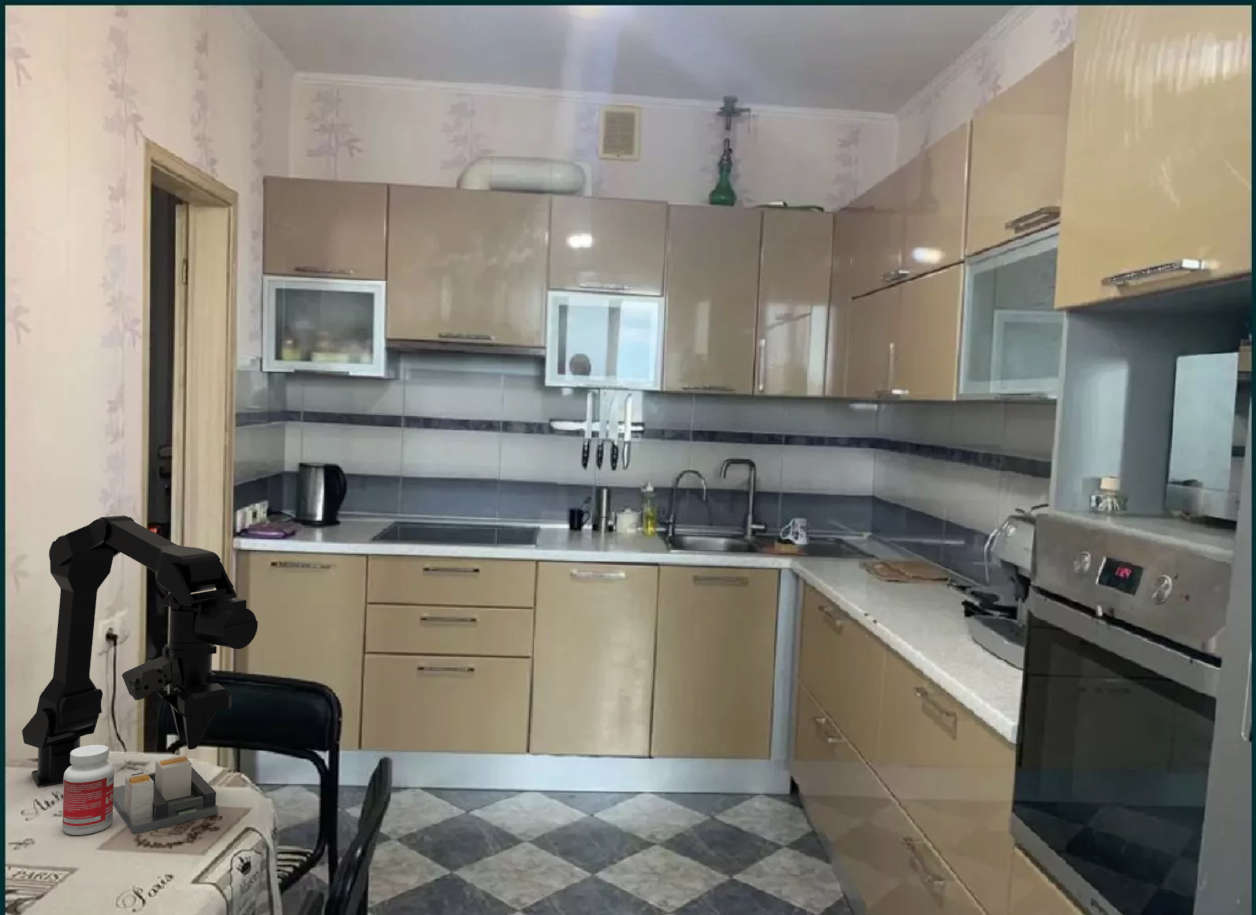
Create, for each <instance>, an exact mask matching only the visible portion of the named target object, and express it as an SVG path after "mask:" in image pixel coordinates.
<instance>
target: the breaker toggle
mask: <svg viewBox="0 0 1256 915" xmlns="http://www.w3.org/2000/svg"><path fill="white" fill-rule="evenodd" d="M154 765H155V769H154V770H155V772H154V773H155V788H156V789H157V790H158V791H159V793H160V794H161V795H162V796H163V798H164V799H165V800H166V801H168V800H173V799H177V798H182V797H186V796H190V795H191V768H192V767H193V766H192V762H191V760H189V758H188V757H187V756H186V755H185V754H182V755H177V756H171V757H166V758H162V759H157V760H155V764H154Z"/></svg>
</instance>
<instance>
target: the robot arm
mask: <svg viewBox="0 0 1256 915" xmlns="http://www.w3.org/2000/svg"><path fill="white" fill-rule="evenodd" d="M120 553H121V554H123V555H125V556H126V557H129V558H130V559H132V560H133V561H136V563H139V564H141V565H142V566H144V567H146V568H147V569H149V570H151V571H152V572H153V573H155V581H156V582H157V584H159V585H160V586H161V587H162V588H164V589H165V590H166V591H167V592H168V594H167V595H166V596H164V597H163V598H162V599H161V600H160V602H159V604H160V606H162V607H169V626H168V628H169V629H168V631H169V633H168V644H167V643H166V644H164V647H162V649H161V651H162V653H161V654H162V655H161V656H159V657H157V658H154V659H151V660H148V661H147V662H144V663H141V664H139V665H137V666H134V667H133V668H131V669H128V670H126V671H124V672H123V673H122V674H121V678H122V680H123V682H124V685H125V687H126V689H127V692H128V693H129V695H130V696H131V697H132V698H133V699H134V701H140V700H144V699H146V698H148V696H149V695H151V694H153V693H155V692H157V691H158V692H157V694H158V695H159V697H161V699H163V700H164V701H165V702H167V703H168V704H169V705H170V708H171V713H172V715H173V720H174V724H175V728H176V729H175V730H176V732H177V736H178V741H180V742H186V746H187V750H190V751H191V750H195V749H197V748H198V746H199V744H200V742H201V740H202V738H203V736H204V735H205V733H206V731H207V729H208V727H209V725H210V724H211V722H212V719H213V718H214V716H215V715H216V713H217V712H218V711H223V710H224V711H225V710H229V709H231V708H232V700H233V699H232V698H233V697H232V696H233V695H232V692H230V691H229V690H228V689H227V688H225V687H224V686H222V685H221V684H219V683H218V682H217V683H215V682H216V681H217V674H216V673H215V672H213V671H212V670H213V654H214V655H215V654H217V653H218V652H217V651H218V648H217V646H219V647H224V648H230V649H234V650H242V649H244V648H246V647H248V645H250V644H251V642H252V641H253V640H254V638H255V637H256V634H257V632H258V626H259V624H258V620H257V616H256V614H255V613H254V612H253V610H251V609H249V608H247V600H246V599H243V598H242V599H241V598H238V599H236V598H237V593H236V591H235V588H234V587H235V586H234V584H233V582H232V581H231V580H230V578H229V576H228V574H227V571H226V569H225V567H224V565H223V563H222V561H221V557H219V555H218V554H217V553H216V552H214V551H211V550H207V549H205V548H204V549H203V548H201V547H194V546H193V547H192V546H183V545H180V544H176V543H174V542H173V541H170V540H169V539H167V538H165V537H164V536H162V535H159V534H158V533H156V532H154V531H152V530H150V529H148V528H147V527H145V526H143V525H141V524H139V523H138V522H136V521H135V520H134V519H133V518H132V517H131V516H128V515H125V514H124V515H113V516H112V515H111V516H109V515H108V516H101V517H98V518H97V519H95V520H93V521H91V522H90V523H89V524H87V525H84V526H83V527H80V528H77V529H75V530H73V531H70V532H67V533H66V534H63V535H60V536H58V537H57V538H56V539H55V540H54V541H52V543H51V545H50V548H49V550H48V557H49V565H50V566H49V568H50V572H49V573H50V574H51V576H52V577H53V579H54V580H55V582H56V584H57V585H58V586H59V588H60V594H59V604H58V617H57V618H58V619H57V628H56V629H57V630H56V640H55V648H54V649H55V650H54V651H55V652H54V664H53V673H52V674H53V675H52V678H51V680H49V683H47V685H46V686H45V688H44V689H43V690H42V692H41V693H40V695H39V697H38V703H37V706H36V711H35V712H36V713H35V714H34V715H33V716H32V717H31V718H30V720H29V721H28V722H27V723H26V725H24V727H23V729H22V730H21V734H22V739H23V743H24V744H25V745H28V746H32V747H35V748H37V769H36V770H32V771H31V776H32V777H33V778H32V779H34V782H35V783H36V786H37V787H46V786H50V785H54V784H55V785H56V784H60V783H63V778H64V773H65V771H66V770H67V768H68V767H70V766H71V765H72V764H71V763H70V753H71V751H72V750H74V749H76V748H79V747H81V737H84V736H87V735H93V734H95V731H96V727H97V724H98V720H99V717H100V715H101V714H103V710H102V709H103V708H102V700H103V695H104V693H103V690H102V689H101V688H97V686H96V685H95V683H94V682H93V680H92V678H91V674H90V673H91V664H92V653H93V642H94V641H93V640H94V632H95V621H96V620H95V619H96V618H95V617H96V608H97V600H98V599H97V598H98V590H99V588H100V587H101V586H102V584H103V583H104V581H105V580H106V579H107V578H108V576H109V575H110V574H111V570H112V566H113V561H114V558H115V557H116V556H118V555H119V554H120ZM212 682H214V683H212ZM207 683H210V684H207ZM161 689H163V690H161Z"/></svg>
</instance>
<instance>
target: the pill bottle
mask: <svg viewBox="0 0 1256 915" xmlns="http://www.w3.org/2000/svg"><path fill="white" fill-rule="evenodd" d="M109 750H110V749H109V747H108V746H107V745H103V744H89V745H84V746H80V747H79V748H76V749H74V750H72V751H71V753H70V763H71V764H72V765H71V766H70V767H68V768H67V770H66V771H65V773H64V778H63V782H62V783H63V785H62V788H63V791H62V792H63V794H62V820H61V822H62V825H61V827H62V830H63V832H64V833H66V834H68V835H69V836H70V835H71V836H84V835H89V834H90V835H91V834H95V833H98V832H102V831H103V830H106V829H107V828H108V827H109V826H110V825H111V824H112V822H113V819H114V805H113V791H114V787H115V786H114V785H115V779H114V778H115V766H114V765H113V763H112V762H111V761H109V760H108V759H109V754H110V752H109Z"/></svg>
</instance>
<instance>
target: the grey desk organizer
mask: <svg viewBox="0 0 1256 915" xmlns="http://www.w3.org/2000/svg"><path fill="white" fill-rule="evenodd" d="M216 802H217V792H216V791H215V789H214V788H213V787H212V786H211V785H210V784H209V783H208V782H207V781H206V780H205V779H204V778H203V777H202V776H201V774H200V773H199V772H198V771H197V770H196V769H195V768H194V767H193V766H192V768H191V795H190V796H186V797H182V798H177V799H173V800H168V801H166V800H165V799H164V798H163V796H162V795H161V794H160V793H159V791H158V790H157V789H156V788H155V772H151V773H147V772H145V773H144V772H137V773H133V774H131V775H130V776H125V777H124V784H123V785H118V786H114V791H113V808H114V809H116V811H117V813H118V814H119V815H120V817H121V818H122V820H123V821H124V823H125V824H126V826H127V827H128V829H129V830H130V832H131V833H132V835H138V834H143V833H145V832H150V831H154V830H158V829H163V828H166V827H171V826H176V825H178V824H184V823H187V822H192V821H196V820H199V819H204V818H208V817H212V816H217V815H218V813H219V812H218V811H219V806H218V805H217V804H216Z"/></svg>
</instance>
